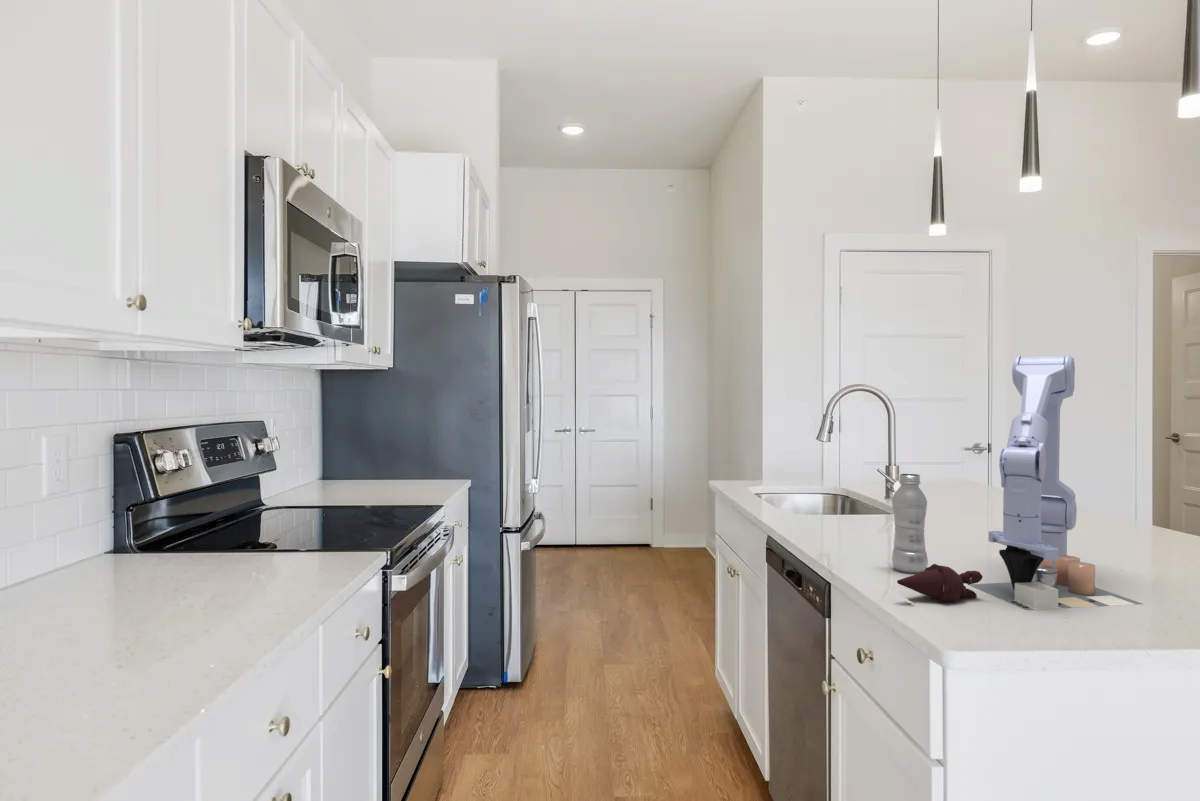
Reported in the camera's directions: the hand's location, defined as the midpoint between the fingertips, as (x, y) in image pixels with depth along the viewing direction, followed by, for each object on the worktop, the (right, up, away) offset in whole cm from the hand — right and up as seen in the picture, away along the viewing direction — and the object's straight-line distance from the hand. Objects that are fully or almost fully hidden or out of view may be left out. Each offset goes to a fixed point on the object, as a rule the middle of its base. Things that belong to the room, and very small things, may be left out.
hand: (1021, 591), depth 123 cm
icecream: (-15, -2, -1) cm, 15 cm away
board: (+7, -2, +2) cm, 7 cm away
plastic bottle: (-12, -2, +18) cm, 22 cm away
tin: (+6, -1, +4) cm, 7 cm away
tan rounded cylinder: (+13, -1, +3) cm, 13 cm away
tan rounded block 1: (+8, -1, +8) cm, 11 cm away
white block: (+1, -1, -3) cm, 4 cm away
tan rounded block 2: (+13, -1, +8) cm, 16 cm away
